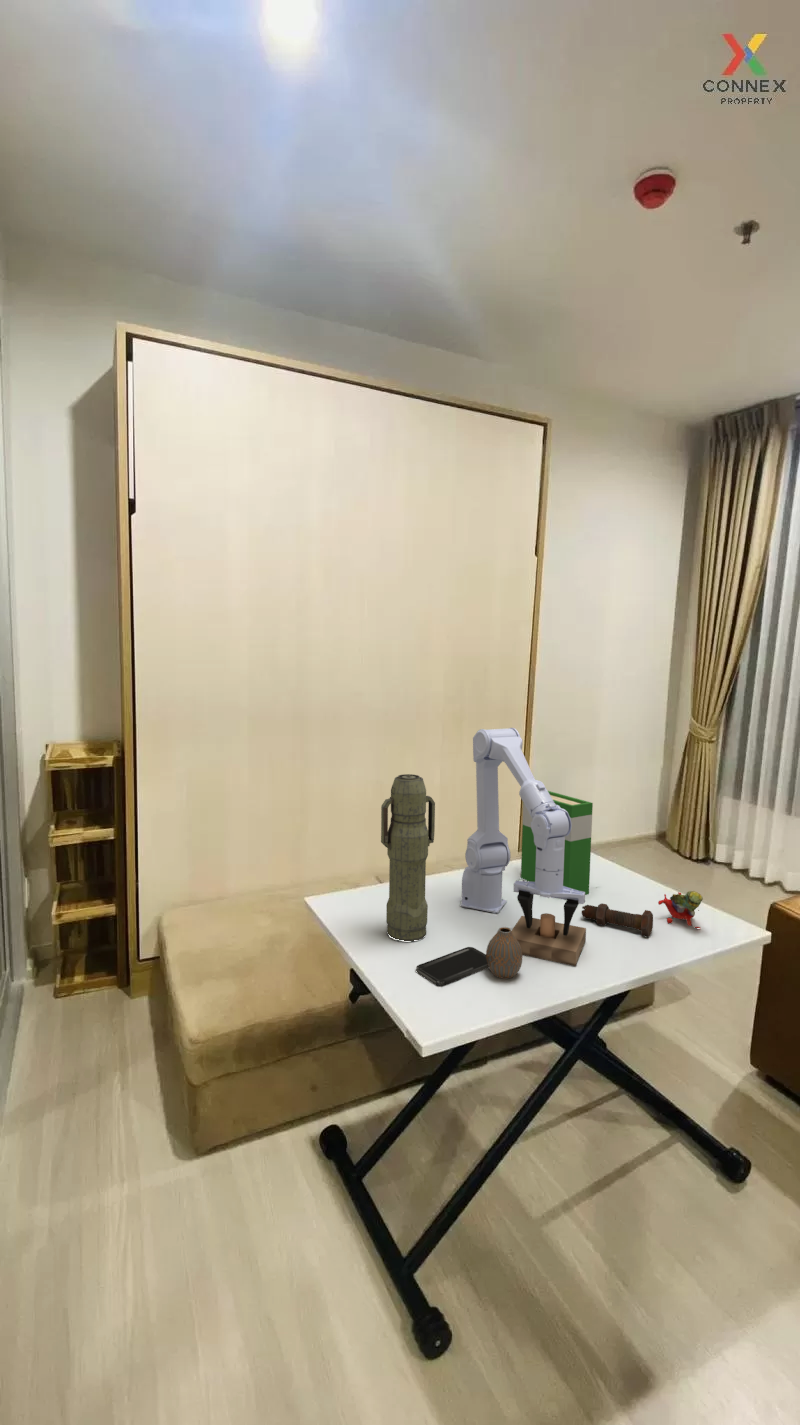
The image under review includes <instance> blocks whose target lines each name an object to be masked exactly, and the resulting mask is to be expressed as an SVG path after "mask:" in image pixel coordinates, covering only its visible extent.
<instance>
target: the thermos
mask: <svg viewBox="0 0 800 1425" xmlns="http://www.w3.org/2000/svg"><path fill="white" fill-rule="evenodd" d="M427 803H428V806H427ZM389 806H390V813H391V817H390V823H389ZM427 807H428V810H427ZM380 809H381V811H380V812H381V815H380V816H381V817H380V819H381V820H380V822H381V823H380V825H381V826H380V828H381V829H380V831H381V832H380V842H381V844H382V845H383V846H384V847H385V848H387V854H386V855H387V856H388V859H389V867H388V868H389V870H388V871H389V874H388V877H389V878H388V879H389V882H388V883H389V885H388V886H389V887H388V888H389V889H388V898H387V899H388V900H387V902H386V916H385V917H386V918H385V919H386V920H385V922H386V925H387V927H386V928H387V930H386V933H387V932H388V934H389V935H390V936H391V937H393V938H395V939H399V940H404V941H414V940H419V939H422V938H423V937H424V936H425V935H426V936H427V925H428V908H429V906H428V902H427V899H426V872H427V871H426V870H427V869H426V868H427V865H426V864H427V858H428V855H429V847H430V844H433V843H434V841H435V827H436V826H435V823H436V822H435V820H436V817H435V816H436V802H435V801H434V799H433V798H432V797H431V796H430V795H427V787H426V785H425V782H424V778H423V777H421V776H420V775H418V774H410V773H409V774H405V773H404V774H399V775H397V776H396V777H394V780H393V782H392V785H391V788H390V796H389V798H386V799H384V801H383V802H382V804H381V808H380ZM427 811H428V813H427V814H428V815H427V816H428V817H427V819H426V816H425V815H426V812H427ZM426 820H427V821H426ZM426 823H428V824H426ZM427 825H428V826H427ZM424 938H425V937H424ZM424 938H423V939H424ZM423 939H422V940H423Z"/></svg>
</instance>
